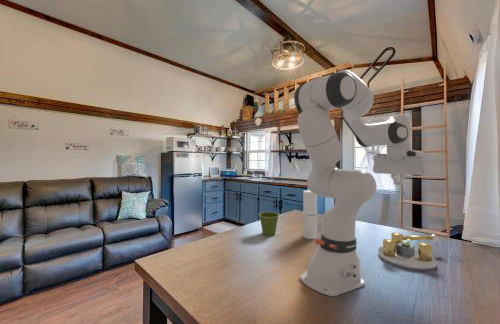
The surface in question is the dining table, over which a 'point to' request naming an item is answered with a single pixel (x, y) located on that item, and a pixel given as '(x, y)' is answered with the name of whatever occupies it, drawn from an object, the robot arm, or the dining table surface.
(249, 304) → the dining table surface
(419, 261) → the tribrach
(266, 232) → the plant pot
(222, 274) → the dining table surface
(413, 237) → the brass lever handle
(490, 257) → the dining table surface
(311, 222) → the cylindrical container
